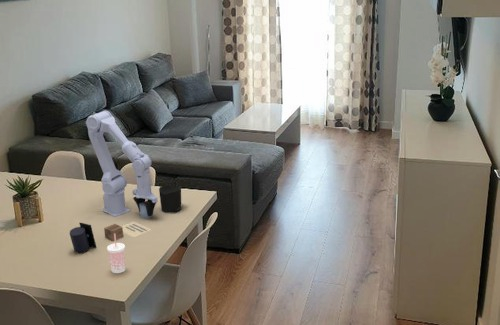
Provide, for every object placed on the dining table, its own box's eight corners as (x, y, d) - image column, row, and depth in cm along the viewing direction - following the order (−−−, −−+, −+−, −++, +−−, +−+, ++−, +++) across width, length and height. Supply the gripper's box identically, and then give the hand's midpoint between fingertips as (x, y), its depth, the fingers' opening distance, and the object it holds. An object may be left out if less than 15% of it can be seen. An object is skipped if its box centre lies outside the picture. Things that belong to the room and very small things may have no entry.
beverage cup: (126, 273, 190) (122, 237, 185) (108, 274, 190) (103, 238, 185) (128, 264, 196) (124, 229, 191) (111, 265, 195) (107, 230, 191)
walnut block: (105, 238, 216) (104, 227, 215) (115, 233, 220) (114, 223, 218) (112, 242, 213) (111, 231, 212) (123, 237, 217) (122, 227, 215)
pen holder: (164, 215, 236) (162, 193, 232) (158, 207, 244) (156, 186, 240) (185, 211, 239) (183, 190, 236) (178, 203, 247) (177, 182, 244)
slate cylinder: (138, 217, 234) (137, 204, 232) (147, 213, 238) (146, 200, 236) (145, 220, 231) (144, 207, 229) (154, 216, 234) (153, 203, 233)
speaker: (89, 242, 212) (84, 219, 208) (96, 248, 208) (92, 224, 204) (71, 250, 208) (65, 227, 203) (78, 256, 204) (73, 232, 199)
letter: (115, 229, 224) (115, 228, 224) (134, 221, 230) (133, 221, 230) (133, 237, 216) (133, 237, 216) (151, 230, 222) (151, 229, 222)
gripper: (125, 182, 231) (128, 212, 236) (146, 190, 222) (149, 221, 226) (139, 178, 236) (141, 207, 241) (160, 186, 227) (162, 216, 231)
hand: (146, 213), depth 234 cm, fingers closed on slate cylinder, 5 cm apart
